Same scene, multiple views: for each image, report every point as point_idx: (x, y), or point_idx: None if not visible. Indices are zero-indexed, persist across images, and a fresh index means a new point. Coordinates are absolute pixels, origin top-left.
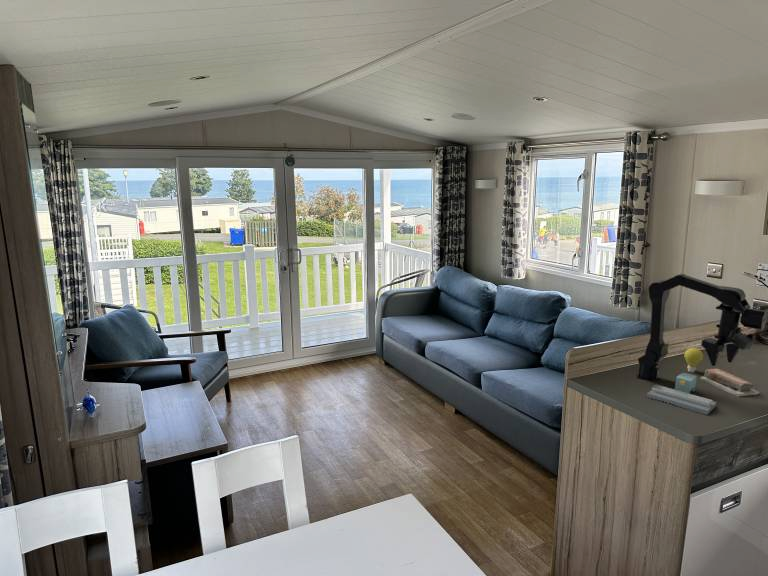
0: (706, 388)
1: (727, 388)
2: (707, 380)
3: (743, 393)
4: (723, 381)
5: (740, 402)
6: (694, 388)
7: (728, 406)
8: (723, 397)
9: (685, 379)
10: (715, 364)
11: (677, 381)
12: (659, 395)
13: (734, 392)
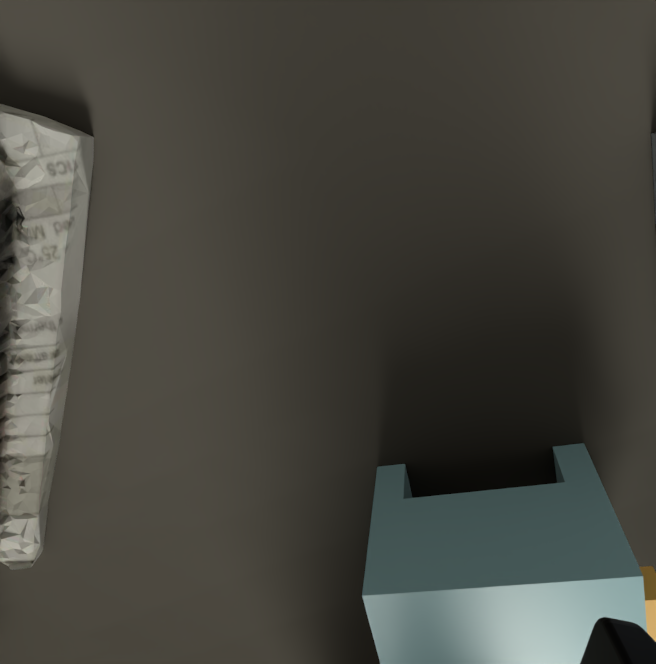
0: (203, 429)
1: (53, 293)
2: (43, 500)
3: (8, 115)
4: None
5: (242, 22)
6: (397, 485)
7: (513, 36)
8: (277, 219)
9: None
10: (636, 656)
11: None
12: None
13: (77, 195)
